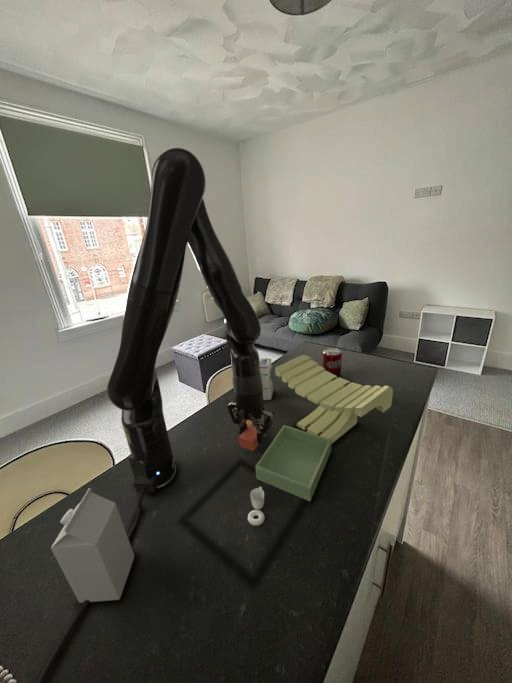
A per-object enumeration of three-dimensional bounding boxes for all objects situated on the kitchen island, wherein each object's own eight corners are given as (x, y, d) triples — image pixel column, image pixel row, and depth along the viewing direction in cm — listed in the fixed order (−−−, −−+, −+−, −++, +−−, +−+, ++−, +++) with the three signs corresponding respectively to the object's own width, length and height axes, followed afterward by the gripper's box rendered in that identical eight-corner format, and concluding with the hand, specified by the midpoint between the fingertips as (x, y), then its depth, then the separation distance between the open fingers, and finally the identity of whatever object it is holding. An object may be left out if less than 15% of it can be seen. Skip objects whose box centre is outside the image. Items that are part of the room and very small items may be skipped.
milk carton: (135, 556, 55) (110, 486, 48) (119, 600, 48) (88, 527, 41) (99, 559, 55) (69, 489, 48) (79, 604, 48) (40, 530, 41)
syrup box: (271, 400, 102) (269, 365, 97) (255, 399, 103) (252, 364, 98) (273, 392, 107) (271, 358, 102) (258, 391, 108) (256, 357, 103)
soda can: (319, 375, 117) (319, 349, 112) (334, 372, 119) (335, 346, 114) (328, 383, 110) (329, 356, 106) (344, 380, 112) (345, 353, 108)
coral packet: (253, 451, 75) (252, 442, 73) (239, 446, 77) (238, 437, 76) (265, 435, 80) (264, 426, 79) (252, 430, 82) (251, 422, 81)
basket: (310, 503, 63) (310, 488, 62) (256, 479, 70) (255, 466, 68) (331, 452, 77) (331, 439, 75) (284, 437, 84) (283, 425, 82)
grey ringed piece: (260, 534, 58) (259, 521, 56) (231, 513, 62) (230, 501, 61) (282, 503, 64) (282, 490, 63) (255, 486, 69) (254, 474, 67)
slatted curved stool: (387, 435, 82) (394, 382, 75) (356, 464, 72) (362, 407, 66) (308, 395, 103) (308, 352, 97) (277, 414, 94) (275, 367, 88)
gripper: (217, 387, 72) (224, 439, 79) (265, 400, 65) (269, 456, 72) (233, 374, 78) (238, 423, 85) (279, 384, 71) (281, 437, 78)
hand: (252, 438), depth 78 cm, fingers closed on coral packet, 4 cm apart
